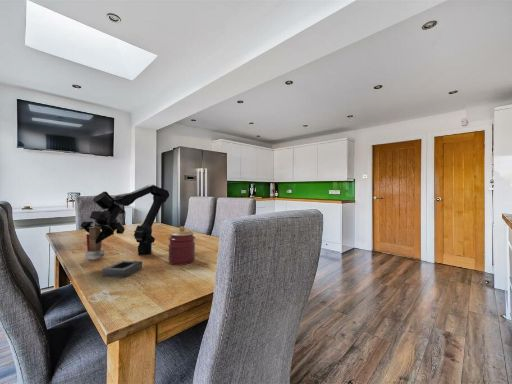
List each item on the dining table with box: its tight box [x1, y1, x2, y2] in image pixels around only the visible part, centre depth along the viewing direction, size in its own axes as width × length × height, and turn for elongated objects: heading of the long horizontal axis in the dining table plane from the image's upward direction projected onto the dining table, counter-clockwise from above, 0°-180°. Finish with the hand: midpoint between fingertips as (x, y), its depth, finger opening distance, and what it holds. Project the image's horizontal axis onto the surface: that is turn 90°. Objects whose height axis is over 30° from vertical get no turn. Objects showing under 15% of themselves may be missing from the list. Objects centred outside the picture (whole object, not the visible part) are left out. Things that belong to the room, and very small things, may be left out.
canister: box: [168, 225, 196, 266], centre depth 120 cm, size 13×13×18 cm
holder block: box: [101, 260, 143, 278], centre depth 104 cm, size 12×10×3 cm
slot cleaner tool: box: [84, 226, 105, 260], centre depth 106 cm, size 6×4×14 cm, turn 172°
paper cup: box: [85, 229, 103, 252], centre depth 127 cm, size 8×8×14 cm
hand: (92, 243), depth 104 cm, fingers closed on slot cleaner tool, 3 cm apart
